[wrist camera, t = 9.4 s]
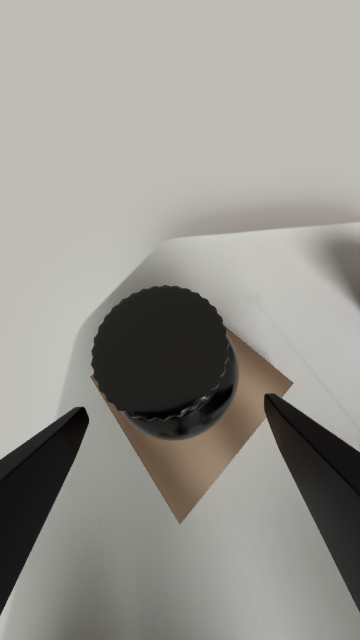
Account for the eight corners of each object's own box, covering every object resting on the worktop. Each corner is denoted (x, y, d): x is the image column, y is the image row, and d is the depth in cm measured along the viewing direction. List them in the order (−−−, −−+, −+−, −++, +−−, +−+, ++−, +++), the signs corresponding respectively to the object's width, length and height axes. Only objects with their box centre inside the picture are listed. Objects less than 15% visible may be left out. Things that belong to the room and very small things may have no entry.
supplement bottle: (213, 436, 14) (243, 536, 4) (140, 407, 16) (11, 417, 5) (228, 357, 17) (274, 279, 6) (165, 340, 18) (114, 254, 8)
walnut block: (183, 502, 15) (179, 524, 12) (105, 380, 20) (90, 376, 18) (280, 386, 18) (293, 383, 15) (188, 307, 23) (186, 294, 21)
